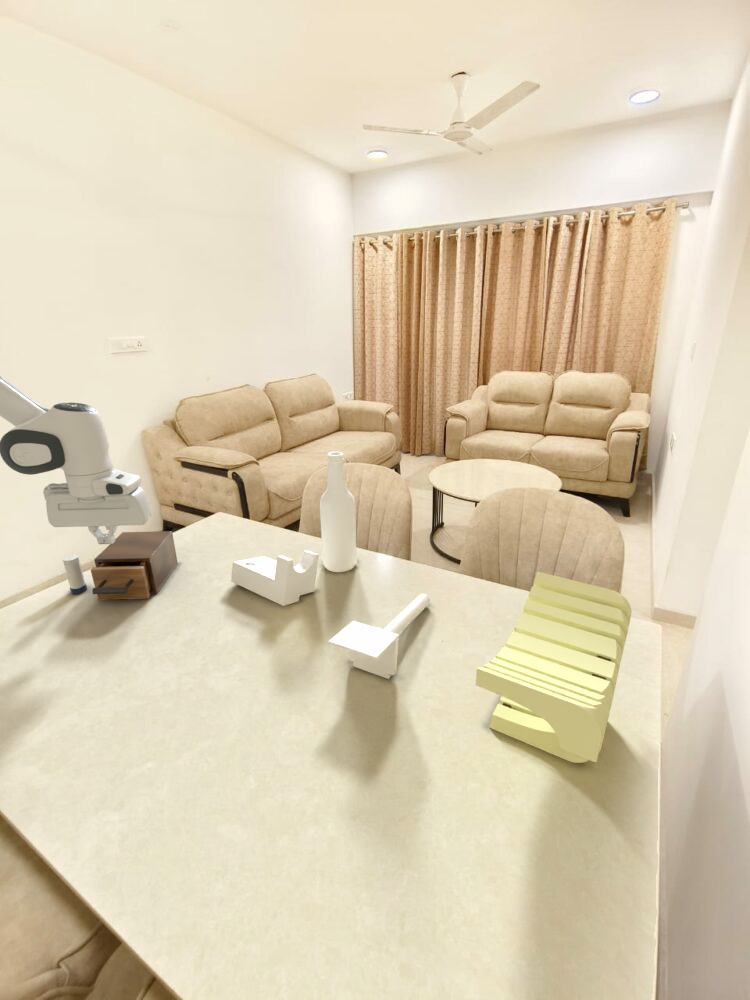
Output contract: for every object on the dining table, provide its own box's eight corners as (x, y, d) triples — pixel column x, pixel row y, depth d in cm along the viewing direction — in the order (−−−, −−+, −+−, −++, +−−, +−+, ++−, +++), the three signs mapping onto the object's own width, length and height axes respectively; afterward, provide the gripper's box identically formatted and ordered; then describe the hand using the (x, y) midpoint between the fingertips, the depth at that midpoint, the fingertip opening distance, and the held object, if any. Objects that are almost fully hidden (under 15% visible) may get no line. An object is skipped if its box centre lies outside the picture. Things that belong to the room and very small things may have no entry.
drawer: (139, 610, 110) (132, 579, 107) (87, 611, 110) (78, 581, 107) (169, 569, 127) (164, 541, 124) (124, 570, 127) (117, 542, 124)
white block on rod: (328, 641, 85) (406, 576, 113) (327, 685, 87) (404, 611, 115) (376, 657, 81) (445, 586, 108) (374, 703, 83) (442, 622, 111)
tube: (68, 594, 118) (59, 561, 115) (75, 587, 121) (67, 554, 118) (82, 594, 118) (73, 560, 115) (90, 587, 121) (81, 554, 118)
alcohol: (351, 574, 125) (347, 459, 114) (318, 571, 127) (311, 457, 116) (360, 558, 133) (358, 449, 122) (329, 555, 135) (323, 447, 124)
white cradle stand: (313, 596, 118) (318, 554, 117) (283, 605, 110) (288, 560, 109) (262, 574, 128) (266, 535, 127) (231, 581, 120) (235, 539, 119)
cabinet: (156, 594, 118) (149, 558, 114) (102, 595, 118) (94, 559, 114) (178, 564, 131) (172, 531, 128) (129, 565, 131) (122, 532, 128)
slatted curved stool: (584, 820, 65) (606, 715, 59) (469, 766, 73) (476, 668, 66) (617, 681, 89) (635, 595, 82) (527, 652, 97) (537, 571, 90)
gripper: (31, 489, 99) (49, 551, 104) (135, 486, 100) (148, 548, 105) (50, 478, 105) (66, 537, 110) (147, 476, 106) (159, 535, 111)
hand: (106, 543), depth 108 cm, fingers closed
